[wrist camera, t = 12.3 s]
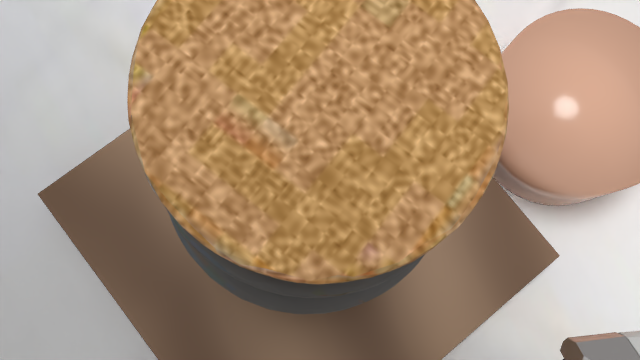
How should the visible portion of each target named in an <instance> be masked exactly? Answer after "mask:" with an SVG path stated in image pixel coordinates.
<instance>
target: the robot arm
mask: <svg viewBox="0 0 640 360" xmlns="http://www.w3.org/2000/svg"><path fill="white" fill-rule="evenodd" d="M560 351H561V353H562V355H563V357H564V359H563V360H640V331H631V332H622V333H616V332H614V333H606V334H597V335H588V336H579V337H570V338H567V339H566V340H565V341H563V343H562V346H561V349H560Z"/></svg>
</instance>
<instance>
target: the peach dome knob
mask: <svg viewBox="0 0 640 360" xmlns="http://www.w3.org/2000/svg"><path fill="white" fill-rule="evenodd" d="M501 55H502V60H503V64H504V68H505V72H506V77H507V81H508V100H509V113H508V123H507V132H506V137H505V141H504V145H503V149H502V152H501V155H500V158H499V161H498V164H497V167H496V170H495V173H494V176H493V178H494V179H495V180H496V181H497V182H498V183H499V184H501V185H502V186H503V187H504V188H506V189H507V190H509V191H510V192H512V193H514V194H515V195H517V196H519V197H521V198H524V199H526V200H529V201H532V202H535V203H539V204H544V205H556V206H560V205H570V204H575V203H579V202H583V201H586V200H589V199H593V198H596V197H599V196H603V195H606V194H609V193H613V192H616V191H619V190H623V189H626V188H629V187H631V186H634V185H637V184H639V183H640V28H639V27H638V26H636V25H635V24H633V23H631V22H630V21H628V20H626V19H624V18H621V17H619V16H617V15H614V14H611V13H608V12H604V11H599V10H594V9H568V10H563V11H557V12H554V13H551V14H548V15H546V16H544V17H542V18H540V19H538V20H536V21H534V22H533V23H531V24H530V25H529V26H527V27H526V28H525V29H524V30H523V31H522V32H520V33H519V34H518V35H517V37H516V38H515V39H514V40H513V41H512V42H511V43H510V44H509V46H508V47H507V48H506V49H505V50H504V51H503V52H502V53H501Z"/></svg>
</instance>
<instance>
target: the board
mask: <svg viewBox="0 0 640 360" xmlns="http://www.w3.org/2000/svg"><path fill="white" fill-rule="evenodd" d="M38 195H39V197H40V198H41V199H42V201H43V202H44V203H45V205H46V206H47V208H48V209H49V210H50V212H51V213H52V214H53V216H54V217H55V219H56V220H57V221H58V223H59V224H60V225H61V227H62V228H63V230H64V231H65V232H66V234H67V235H68V236H69V238H70V239H71V240H72V242H73V243H74V245H75V246H76V247H77V249H78V250H79V251H80V253H81V254H82V256H83V257H84V258H85V260H86V261H87V262H88V264H89V265H90V267H91V268H92V269H93V271H94V272H95V273H96V275H97V276H98V278H99V279H100V280H101V282H102V283H103V284H104V286H105V287H106V288H107V290H108V291H109V293H110V294H111V295H112V297H113V298H114V299H115V301H116V302H117V304H118V305H119V306H120V308H121V309H122V310H123V312H124V313H125V315H126V316H127V317H128V319H129V320H130V321H131V323H132V324H133V325H134V327H135V328H136V330H137V331H138V332H139V334H140V335H141V336H142V338H143V339H144V341H145V342H146V343H147V345H148V346H149V347H150V349H151V350H152V352H153V353H154V354H155V356H156V357H157V358H158V360H441V359H442V358H443V357H445V356H446V355H447V354H448V353H449V352H450V351H451V350H453V349H454V348H455V347H456V346H457V345H458V344H459V343H461V342H462V341H463V340H464V339H465V338H466V337H467V336H469V335H470V334H471V333H472V332H473V331H474V330H475V329H477V328H478V327H479V326H480V325H481V324H482V323H483V322H485V321H486V320H487V319H488V318H489V317H490V316H491V315H493V314H494V313H495V312H496V311H497V310H498V309H499V308H501V307H502V306H503V305H504V304H505V303H506V302H507V301H509V300H510V299H511V298H512V297H513V296H514V295H515V294H517V293H518V292H519V291H520V290H521V289H522V288H523V287H525V286H526V285H527V284H528V283H529V282H530V281H531V280H533V279H534V278H535V277H536V276H537V275H538V274H539V273H541V272H542V271H543V270H544V269H545V268H546V267H547V266H549V265H550V264H551V263H552V262H553V261H554V260H555V259H557V258H558V257H559V254H558V253H557V252H556V251H555V250H554V248H553V247H552V246H551V245H550V244H549V243H548V241H547V240H546V239H545V238H544V237H543V236H542V234H541V233H540V232H539V231H538V230H537V228H536V227H535V226H534V225H533V224H532V223H531V221H530V220H529V219H528V218H527V217H526V215H525V214H524V213H523V212H522V211H521V210H520V208H519V207H518V206H517V205H516V204H515V203H514V201H513V200H512V199H511V198H510V197H509V195H508V194H507V193H506V192H505V191H504V190H503V188H502V187H501V186H500V185H499V184H498V183H497V181H496V180H495V179H494V178H492V179H491V181H490V183H489V185H488V187H487V189H486V191H485V193H484V194H483V196H482V197H481V199H480V200H479V201H478V203H477V204H476V206H475V207H474V209H473V210H472V211H471V213H470V214H469V215H468V216H467V218H466V219H465V220H464V221H463V223H462V224H461V225H460V226H459V227H458V228H457V229H456V230H455V231H453V232H452V233H451V234H450V235H449V236H447V237H446V238H445V239H444V240H443V241H441V242H440V243H439V244H438V245H437V246H435V247H434V248H433V249H432V250H430V251H429V252H427V253H426V254H425V255H424V256H423V258H422V259H421V261H420V262H419V263H418V264H417V265H416V267H415V268H414V269H413V270H412V271H411V272H410V273H409V274H408V275H407V276H405V277H404V278H403V279H402V280H401V281H400V282H399V283H397V284H396V285H395V286H394V287H392V288H391V289H389V290H388V291H386V292H385V293H383V294H381V295H379V296H377V297H375V298H373V299H371V300H369V301H367V302H365V303H362V304H360V305H357V306H354V307H351V308H349V309H346V310H341V311H336V312H330V313H325V314H292V313H286V312H281V311H275V310H269V309H266V308H263V307H261V306H258V305H256V304H253V303H250V302H248V301H245V300H243V299H241V298H239V297H237V296H236V295H234V294H232V293H231V292H229V291H228V290H226V289H225V288H224V287H222V286H221V285H219V284H218V283H216V282H215V281H214V280H213V279H211V278H210V277H209V276H208V275H207V274H206V273H205V272H204V270H203V269H202V268H201V267H200V266H199V265H198V264H197V263H196V261H195V260H194V259H193V258H192V257H191V256H190V255H189V253H188V252H187V250H186V248H185V247H184V245H183V243H182V242H181V240H180V238H179V237H178V235H177V233H176V230H175V228H174V226H173V223H172V221H171V218H170V215H169V213H168V211H167V210H166V208H165V206H164V205H163V203H162V202H161V201H160V199H159V198H158V196H157V195H156V194H155V192H154V191H153V189H152V187H151V185H150V183H149V181H148V180H147V178H146V176H145V174H144V172H143V169H142V167H141V164H140V161H139V159H138V156H137V153H136V150H135V146H134V142H133V137H132V133H131V129H129V130H127V131H126V132H124V133H123V134H122V135H120V136H119V137H117V138H116V139H114V140H113V141H112V142H110V143H109V144H107V145H106V146H105V147H103V148H102V149H100V150H99V151H98V152H96V153H95V154H93V155H92V156H91V157H89V158H88V159H86V160H85V161H83V162H82V163H81V164H79V165H78V166H76V167H75V168H74V169H72V170H71V171H69V172H68V173H67V174H65V175H64V176H62V177H61V178H59V179H58V180H57V181H55V182H54V183H52V184H51V185H50V186H48V187H47V188H45V189H44V190H43V191H41V192H40V193H38Z"/></svg>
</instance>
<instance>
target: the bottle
mask: <svg viewBox="0 0 640 360" xmlns="http://www.w3.org/2000/svg"><path fill="white" fill-rule="evenodd" d="M508 113H509V100H508V81H507V77H506V72H505V68H504V64H503V60H502V55H501V51H500V48H499V45H498V43H497V40H496V38H495V36H494V33H493V31H492V29H491V26H490V24H489V22H488V20H487V18H486V17H485V15H484V14H483V12H482V10H481V9H480V7H479V6H478V4H477V3H476V1H475V0H157V1H156V3H155V5H154V6H153V8H152V10H151V12H150V14H149V16H148V17H147V19H146V21H145V23H144V25H143V26H142V29H141V32H140V35H139V38H138V41H137V44H136V47H135V51H134V54H133V57H132V62H131V67H130V73H129V82H128V119H129V124H130V129H131V133H132V137H133V142H134V146H135V150H136V153H137V156H138V159H139V161H140V164H141V167H142V169H143V172H144V174H145V176H146V178H147V180H148V181H149V183H150V185H151V187H152V189H153V191H154V192H155V194H156V195H157V196H158V198H159V199H160V201H161V202H162V203H163V205H164V206H165V208H166V210H167V211H168V213H169V215H170V218H171V221H172V223H173V226H174V228H175V230H176V233H177V235H178V237H179V238H180V240H181V242H182V243H183V245H184V247H185V248H186V250H187V252H188V253H189V255H190V256H191V257H192V258H193V259H194V260H195V261H196V263H197V264H198V265H199V266H200V267H201V268H202V269H203V270H204V272H205V273H206V274H207V275H208V276H209V277H210V278H211V279H213V280H214V281H215V282H216V283H218V284H219V285H221V286H222V287H224V288H225V289H226V290H228V291H229V292H231V293H232V294H234V295H236V296H237V297H239V298H241V299H243V300H245V301H248V302H250V303H253V304H256V305H258V306H261V307H263V308H266V309H269V310H275V311H281V312H286V313H292V314H325V313H330V312H336V311H341V310H346V309H349V308H351V307H354V306H357V305H360V304H362V303H365V302H367V301H369V300H371V299H373V298H375V297H377V296H379V295H381V294H383V293H385V292H386V291H388V290H389V289H391V288H392V287H394V286H395V285H396V284H397V283H399V282H400V281H401V280H402V279H403V278H404V277H405V276H407V275H408V274H409V273H410V272H411V271H412V270H413V269H414V268H415V267H416V265H417V264H418V263H419V262H420V261H421V259H422V258H423V256H424V255H425V254H426V253H427V252H429V251H430V250H432V249H433V248H434V247H435V246H437V245H438V244H439V243H440V242H441V241H443V240H444V239H445V238H446V237H447V236H449V235H450V234H451V233H452V232H453V231H455V230H456V229H457V228H458V227H459V226H460V225H461V224H462V223H463V221H464V220H465V219H466V218H467V216H468V215H469V214H470V213H471V211H472V210H473V209H474V207H475V206H476V204H477V203H478V201H479V200H480V199H481V197H482V196H483V194H484V193H485V191H486V189H487V187H488V185H489V183H490V181H491V179H492V178H493V176H494V173H495V170H496V167H497V164H498V161H499V158H500V155H501V152H502V149H503V145H504V141H505V137H506V132H507V123H508Z"/></svg>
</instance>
